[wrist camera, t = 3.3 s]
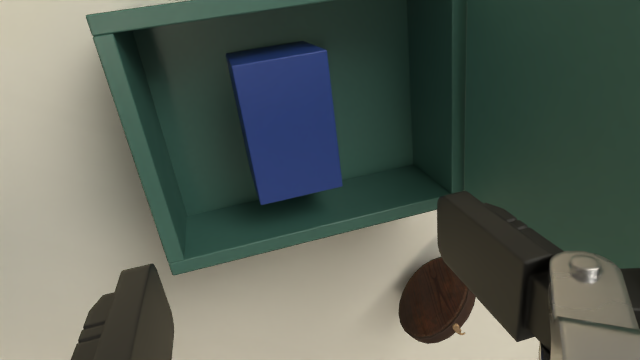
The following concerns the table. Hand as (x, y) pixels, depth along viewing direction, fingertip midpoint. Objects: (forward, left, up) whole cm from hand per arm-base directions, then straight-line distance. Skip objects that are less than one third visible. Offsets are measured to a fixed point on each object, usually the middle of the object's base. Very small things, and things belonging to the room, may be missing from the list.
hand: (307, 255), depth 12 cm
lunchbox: (+3, +1, -15) cm, 16 cm away
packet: (+2, +1, -15) cm, 15 cm away
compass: (+13, -15, -16) cm, 25 cm away
